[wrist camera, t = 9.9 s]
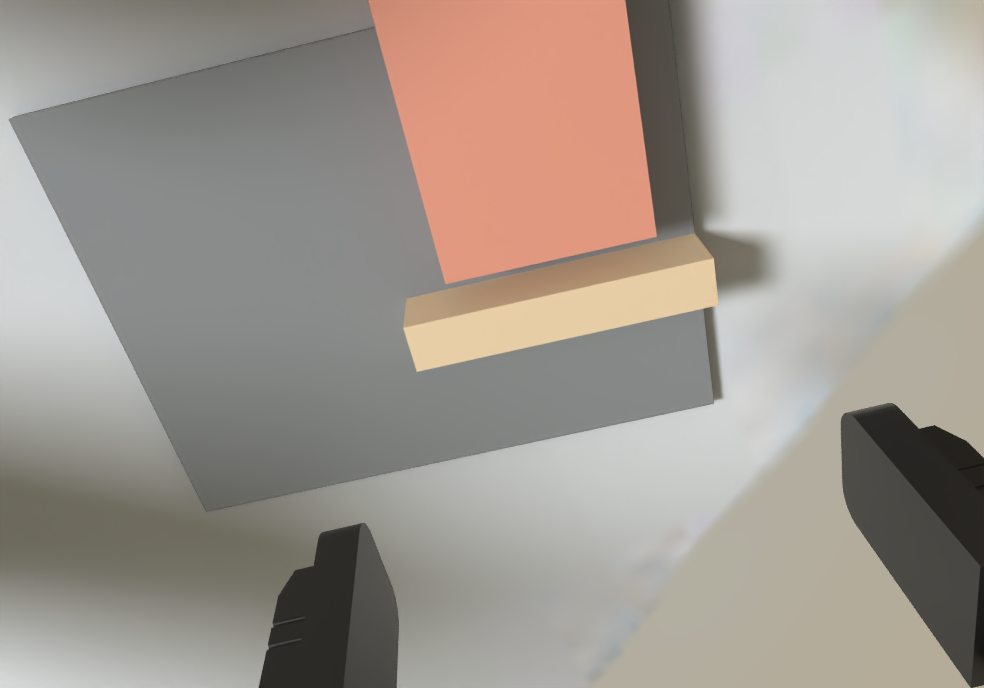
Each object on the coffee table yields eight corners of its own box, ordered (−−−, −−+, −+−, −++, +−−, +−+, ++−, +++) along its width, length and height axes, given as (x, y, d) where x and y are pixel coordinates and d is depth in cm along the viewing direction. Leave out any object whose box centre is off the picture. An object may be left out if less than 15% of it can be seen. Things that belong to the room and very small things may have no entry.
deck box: (445, 284, 23) (361, -21, 19) (445, 257, 25) (369, -26, 21) (657, 236, 22) (613, -83, 19) (641, 212, 24) (599, -84, 21)
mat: (209, 504, 29) (190, 551, 27) (15, 116, 22) (-30, 137, 20) (710, 397, 28) (732, 437, 26) (660, -45, 21) (683, -40, 19)
